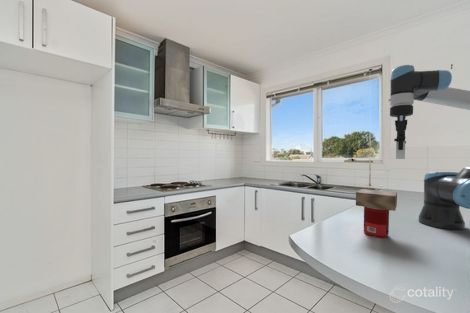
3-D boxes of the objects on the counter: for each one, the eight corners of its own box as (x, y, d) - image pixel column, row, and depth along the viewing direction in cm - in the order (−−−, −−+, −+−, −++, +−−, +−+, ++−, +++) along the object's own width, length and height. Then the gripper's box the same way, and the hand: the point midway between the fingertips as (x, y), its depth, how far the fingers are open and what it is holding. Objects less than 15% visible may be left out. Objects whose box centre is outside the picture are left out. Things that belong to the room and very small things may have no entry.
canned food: (392, 239, 80) (393, 208, 80) (367, 237, 82) (368, 207, 82) (382, 232, 88) (383, 204, 88) (360, 230, 89) (361, 202, 89)
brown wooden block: (396, 205, 85) (397, 192, 85) (395, 210, 76) (395, 196, 76) (361, 201, 93) (361, 189, 93) (355, 205, 84) (356, 192, 84)
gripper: (390, 112, 102) (389, 158, 102) (389, 100, 82) (387, 158, 82) (411, 110, 98) (410, 158, 98) (415, 97, 78) (413, 159, 78)
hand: (400, 158), depth 90 cm, fingers open, 13 cm apart
